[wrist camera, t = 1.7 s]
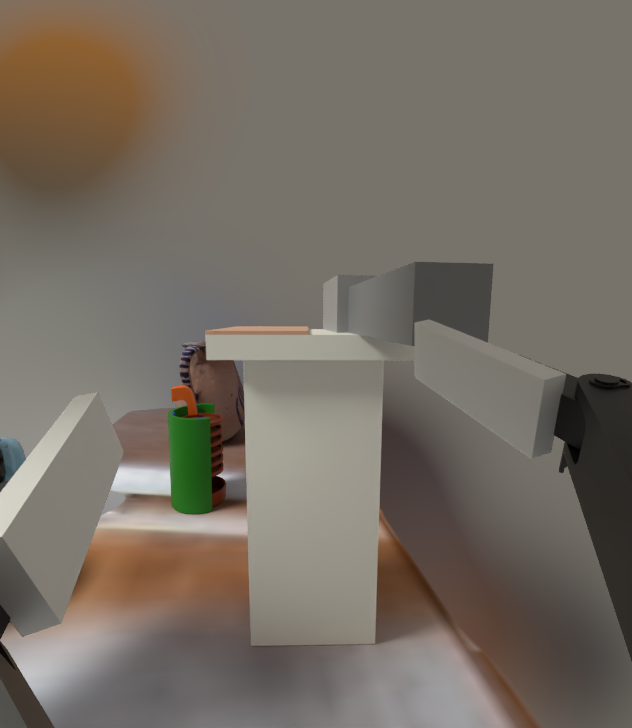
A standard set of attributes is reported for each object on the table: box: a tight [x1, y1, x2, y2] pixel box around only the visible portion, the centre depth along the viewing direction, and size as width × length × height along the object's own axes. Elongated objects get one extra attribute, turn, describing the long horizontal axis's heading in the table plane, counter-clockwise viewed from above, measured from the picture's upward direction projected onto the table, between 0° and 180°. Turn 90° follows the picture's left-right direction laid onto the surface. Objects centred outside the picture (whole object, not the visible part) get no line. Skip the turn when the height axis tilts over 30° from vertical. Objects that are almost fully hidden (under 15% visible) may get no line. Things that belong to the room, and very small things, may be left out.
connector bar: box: [323, 262, 493, 346], centre depth 27 cm, size 6×22×5 cm, turn 8°
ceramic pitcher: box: [176, 341, 245, 442], centre depth 85 cm, size 18×21×25 cm
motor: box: [168, 385, 226, 514], centre depth 58 cm, size 10×9×20 cm
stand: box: [205, 326, 415, 646], centre depth 35 cm, size 17×12×30 cm
